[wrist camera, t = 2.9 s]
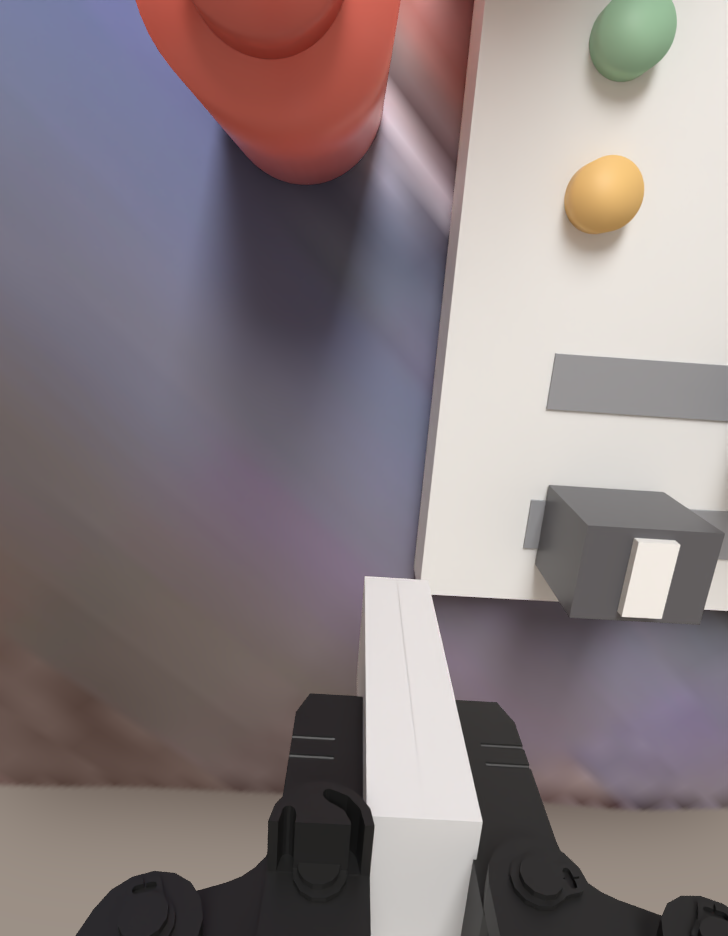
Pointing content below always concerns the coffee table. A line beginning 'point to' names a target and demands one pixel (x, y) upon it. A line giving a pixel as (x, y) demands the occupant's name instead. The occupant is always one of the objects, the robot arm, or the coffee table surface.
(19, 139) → the coffee table surface
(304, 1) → the cap
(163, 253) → the coffee table surface
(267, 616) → the coffee table surface
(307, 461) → the coffee table surface
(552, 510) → the breaker
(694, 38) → the panel
